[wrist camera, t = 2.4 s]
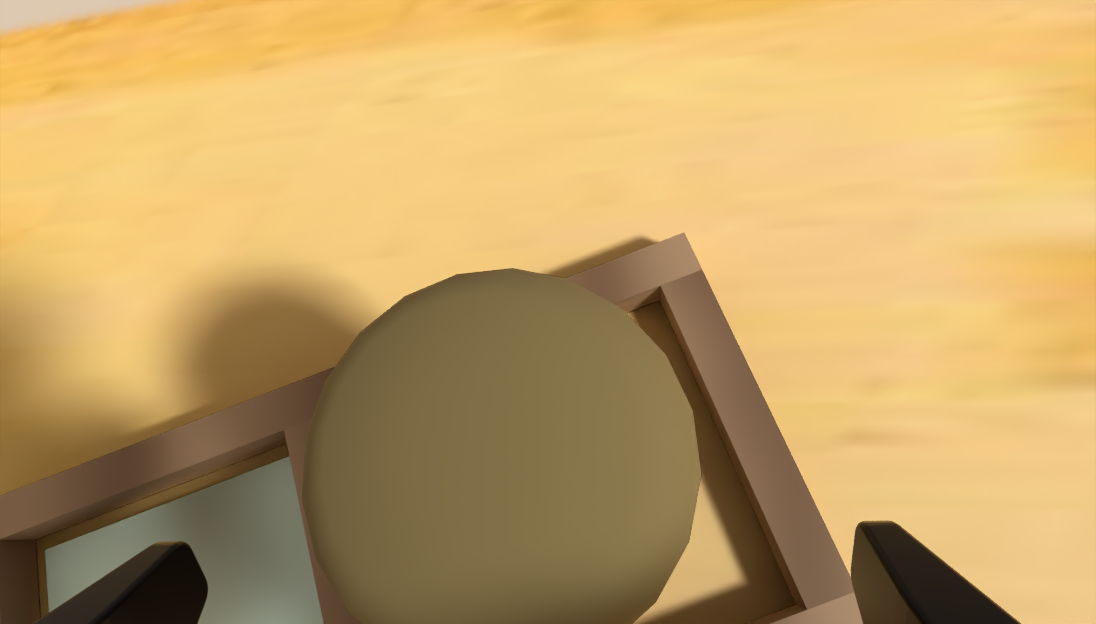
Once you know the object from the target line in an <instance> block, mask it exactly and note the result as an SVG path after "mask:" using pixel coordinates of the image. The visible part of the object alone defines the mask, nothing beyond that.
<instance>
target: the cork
mask: <svg viewBox="0 0 1096 624" xmlns="http://www.w3.org/2000/svg"><path fill="white" fill-rule="evenodd" d="M700 480H701V468H700V461H699V453H698V446H697V438H696V431H695V423H694V416H693V410H692V408H691V406H690V404H689V402H688V399H687V397H686V395H685V393H684V391H683V389H682V387H681V385H680V383H679V381H678V379H677V376H676V374H675V372H674V370H673V368H672V366H671V364H670V362H669V360H668V358H667V356H666V354H665V353H664V352H663V351H662V350H661V349H660V348H659V347H658V346H657V345H656V344H655V343H654V342H653V340H652V339H651V338H650V337H649V336H648V335H647V334H646V333H645V332H644V331H643V330H642V329H641V328H640V327H639V326H638V325H637V324H636V323H635V322H634V321H633V319H632V318H631V317H630V316H629V315H628V314H627V313H626V312H625V311H623V310H622V309H621V308H620V307H618V306H617V305H615V304H613V303H611V302H609V301H608V300H606V299H604V298H602V297H600V296H598V295H597V294H595V293H593V292H591V291H589V290H587V289H585V288H584V287H582V286H580V285H578V284H576V283H574V282H573V281H571V280H569V279H566V278H561V277H556V276H550V275H545V274H540V273H535V272H529V271H524V270H519V269H514V268H510V269H501V270H492V271H483V272H474V273H465V274H457V275H454V276H452V277H450V278H447V279H445V280H443V281H440V282H438V283H435V284H433V285H431V286H428V287H426V288H424V289H421V290H419V291H416V292H414V293H412V294H409V295H407V296H405V297H403V298H402V299H401V300H400V301H398V302H397V303H396V304H395V305H394V306H392V307H391V308H390V309H389V310H387V311H386V312H385V313H384V314H382V315H381V316H380V317H379V318H377V319H376V320H375V321H374V322H372V323H371V324H370V325H369V326H367V327H366V328H365V329H364V330H362V331H361V332H360V333H359V335H358V336H357V337H356V339H355V340H354V342H353V343H352V344H351V346H350V347H349V349H348V350H347V351H346V353H345V354H344V356H343V357H342V358H341V360H340V361H339V363H338V364H337V365H336V367H335V368H334V370H333V371H332V372H331V374H330V375H329V377H328V378H327V379H326V381H325V384H324V387H323V390H322V392H321V395H320V398H319V401H318V404H317V406H316V409H315V412H314V415H313V417H312V420H311V423H310V426H309V429H308V431H307V434H306V437H305V452H304V468H303V484H302V503H303V507H304V511H305V515H306V519H307V523H308V527H309V532H310V536H311V540H312V544H313V548H314V552H315V556H316V560H317V562H318V563H319V565H320V567H321V568H322V570H323V571H324V573H325V575H326V576H327V578H328V580H329V581H330V583H331V584H332V586H333V588H334V589H335V591H336V592H337V594H338V596H339V597H340V599H341V600H342V602H343V604H344V605H345V607H346V609H347V610H348V612H349V613H350V615H352V616H353V617H354V618H355V619H357V620H358V621H359V622H360V623H362V624H632V623H634V622H635V621H636V620H637V619H638V618H639V617H640V616H641V615H642V614H643V613H645V612H646V611H647V610H648V609H649V608H650V607H651V606H652V605H653V604H654V603H655V602H656V601H657V599H658V597H659V595H660V594H661V592H662V590H663V588H664V586H665V585H666V583H667V581H668V579H669V577H670V575H671V574H672V572H673V570H674V568H675V566H676V564H677V563H678V561H679V559H680V557H681V555H682V554H683V552H684V550H685V548H686V546H687V544H688V543H689V540H690V534H691V529H692V523H693V518H694V512H695V507H696V502H697V496H698V491H699V485H700Z"/></svg>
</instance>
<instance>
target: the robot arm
mask: <svg viewBox="0 0 1096 624" xmlns="http://www.w3.org/2000/svg"><path fill="white" fill-rule="evenodd" d="M851 579H852V585H853V589H854V593H855V597H856V600H857V604H858V607H859V611H860V614H861V618H862V622H863V624H1021V623H1020V622H1018V621H1017V620H1016V619H1015V618H1013V617H1012V616H1011V615H1010V614H1009V613H1007V612H1006V611H1005V610H1004V609H1002V608H1001V607H1000V606H999V605H997V604H996V603H995V602H994V601H992V600H991V599H990V598H989V597H987V596H986V595H985V594H984V593H983V592H981V591H980V590H979V589H978V588H976V587H975V586H974V585H973V584H971V583H970V582H969V581H968V580H966V579H965V578H964V577H963V576H961V575H960V574H959V573H958V572H957V571H955V570H954V569H953V568H952V567H950V566H949V565H948V564H947V563H945V562H944V561H943V560H942V559H940V558H939V557H938V556H937V555H935V554H934V553H933V552H932V551H931V550H929V549H928V548H927V547H926V546H924V545H923V544H922V543H921V542H919V541H918V540H917V539H916V538H914V537H913V536H912V535H911V534H909V533H908V532H907V531H906V530H904V529H903V528H902V527H901V526H900V525H898V524H897V523H895V522H892V521H863V522H860V523H859V524H858V525H857V527H856V530H855V538H854V546H853V554H852V563H851ZM207 595H208V583H207V579H206V577H205V575H204V573H203V571H202V569H201V567H200V565H199V563H198V561H197V559H196V556H195V554H194V552H193V550H192V548H191V547H190V545H189V544H187V543H186V542H183V541H167V542H157V543H154V544H152V545H150V546H149V547H147V548H146V549H144V550H143V551H141V552H140V553H138V554H137V555H135V556H134V557H132V558H131V559H129V560H128V561H126V562H125V563H123V564H122V565H120V566H119V567H117V568H116V569H114V570H113V571H111V572H110V573H108V574H107V575H105V576H104V577H102V578H101V579H99V580H98V581H96V582H95V583H93V584H91V585H90V586H88V587H87V588H85V589H84V590H82V591H81V592H79V593H78V594H76V595H75V596H73V597H72V598H70V599H69V600H67V601H66V602H64V603H63V604H61V605H60V606H58V607H57V608H55V609H54V610H52V611H51V612H49V613H48V614H46V615H45V616H43V617H42V618H40V619H39V620H37V621H36V622H34V623H33V624H198V621H199V619H200V616H201V613H202V611H203V608H204V605H205V603H206V600H207Z"/></svg>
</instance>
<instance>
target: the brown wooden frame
mask: <svg viewBox="0 0 1096 624" xmlns="http://www.w3.org/2000/svg"><path fill="white" fill-rule="evenodd" d="M566 279H569V280H571V281H573V282H574V283H576V284H578V285H580V286H582V287H584V288H585V289H587V290H589V291H591V292H593V293H595V294H597V295H598V296H600V297H602V298H604V299H606V300H608V301H609V302H611V303H613V304H615V305H617V306H618V307H620V308H621V309H622V310H623V311H625V312H626V313H628V312H631V311H633V310H636V309H638V308H641V307H644V306H646V305H649V304H651V303H654V302H657V301H659V300H660V302H661V305H662V307H663V309H664V311H665V313H666V316H667V318H668V320H669V322H670V325H671V327H672V329H673V331H674V334H675V336H676V338H677V340H678V342H679V345H680V347H681V349H682V351H683V354H684V356H685V358H686V360H687V363H688V365H689V367H690V369H691V371H692V374H693V376H694V378H695V380H696V383H697V385H698V387H699V389H700V392H701V394H702V396H703V398H704V401H705V403H706V405H707V407H708V409H709V412H710V414H711V416H712V418H713V421H714V423H715V425H716V427H717V430H718V432H719V434H720V436H721V438H722V441H723V443H724V445H725V447H726V450H727V452H728V454H729V456H730V459H731V461H732V463H733V465H734V467H735V470H736V472H737V474H738V476H739V479H740V481H741V483H742V485H743V488H744V490H745V492H746V494H747V496H748V499H749V501H750V503H751V505H752V508H753V510H754V512H755V514H756V517H757V519H758V521H759V523H760V525H761V528H762V530H763V532H764V534H765V537H766V539H767V541H768V543H769V546H770V548H771V550H772V552H773V554H774V557H775V559H776V561H777V563H778V566H779V568H780V570H781V572H782V575H783V577H784V579H785V581H786V584H787V586H788V588H789V590H790V592H791V595H792V597H793V599H794V601H795V604H796V605H794V606H791V607H789V608H786V609H783V610H781V611H778V612H775V613H773V614H770V615H767V616H765V617H762V618H759V619H757V620H754V621H751V622H749V623H746V624H863V622H862V618H861V614H860V611H859V607H858V604H857V600H856V597H855V593H854V589H853V585H852V579H851V577H850V575H849V573H848V571H847V569H846V567H845V565H844V563H843V561H842V558H841V556H840V554H839V552H838V550H837V548H836V546H835V544H834V542H833V540H832V538H831V536H830V534H829V532H828V529H827V527H826V525H825V523H824V521H823V519H822V517H821V515H820V513H819V511H818V509H817V507H816V505H815V503H814V500H813V498H812V496H811V494H810V492H809V490H808V488H807V486H806V484H805V482H804V480H803V478H802V476H801V474H800V471H799V469H798V467H797V465H796V463H795V461H794V459H793V457H792V455H791V453H790V451H789V449H788V447H787V445H786V442H785V440H784V438H783V436H782V434H781V432H780V430H779V428H778V426H777V424H776V422H775V420H774V418H773V416H772V413H771V411H770V409H769V407H768V405H767V403H766V401H765V399H764V397H763V395H762V393H761V391H760V389H759V387H758V384H757V382H756V380H755V378H754V376H753V374H752V372H751V370H750V368H749V366H748V364H747V362H746V360H745V358H744V355H743V353H742V351H741V349H740V347H739V345H738V343H737V341H736V339H735V337H734V335H733V333H732V331H731V329H730V326H729V324H728V322H727V320H726V318H725V316H724V314H723V312H722V310H721V308H720V306H719V304H718V302H717V300H716V297H715V295H714V293H713V291H712V289H711V287H710V285H709V283H708V281H707V279H706V277H705V275H704V273H703V271H702V268H701V266H700V264H699V262H698V260H697V258H696V256H695V254H694V252H693V250H692V248H691V246H690V244H689V242H688V239H687V237H686V235H685V233H681V234H679V235H676V236H674V237H671V238H669V239H666V240H663V241H661V242H658V243H656V244H653V245H650V246H648V247H645V248H643V249H640V250H637V251H635V252H632V253H630V254H627V255H624V256H622V257H619V258H617V259H614V260H611V261H609V262H606V263H604V264H601V265H598V266H596V267H593V268H591V269H588V270H585V271H583V272H580V273H578V274H575V275H572V276H570V277H567V278H566ZM334 368H335V367H333V368H331V369H328V370H326V371H323V372H320V373H318V374H315V375H313V376H310V377H307V378H305V379H302V380H300V381H297V382H294V383H292V384H289V385H287V386H284V387H281V388H279V389H276V390H274V391H271V392H268V393H266V394H263V395H261V396H258V397H255V398H253V399H250V400H248V401H245V402H242V403H240V404H237V405H235V406H232V407H229V408H227V409H224V410H222V411H219V412H216V413H214V414H211V415H209V416H206V417H203V418H201V419H198V420H196V421H193V422H190V423H188V424H185V425H183V426H180V427H177V428H175V429H172V430H170V431H167V432H164V433H162V434H159V435H157V436H154V437H151V438H149V439H146V440H144V441H141V442H138V443H136V444H133V445H131V446H128V447H126V448H123V449H120V450H118V451H115V452H113V453H110V454H107V455H105V456H102V457H100V458H97V459H94V460H92V461H89V462H87V463H84V464H81V465H79V466H76V467H74V468H71V469H68V470H66V471H63V472H61V473H58V474H55V475H53V476H50V477H48V478H45V479H42V480H40V481H37V482H35V483H32V484H29V485H27V486H24V487H22V488H19V489H16V490H14V491H11V492H9V493H6V494H3V495H1V496H0V624H33V623H34V622H36V621H37V620H39V619H40V606H39V590H38V574H37V557H36V541H35V540H36V539H39V538H41V537H44V536H46V535H49V534H52V533H54V532H57V531H59V530H62V529H65V528H67V527H70V526H72V525H75V524H78V523H80V522H83V521H86V520H88V519H91V518H93V517H96V516H99V515H101V514H104V513H106V512H109V511H112V510H114V509H117V508H119V507H122V506H125V505H127V504H130V503H132V502H135V501H138V500H140V499H143V498H145V497H148V496H151V495H153V494H156V493H159V492H161V491H164V490H166V489H169V488H172V487H174V486H177V485H179V484H182V483H185V482H187V481H190V480H192V479H195V478H198V477H200V476H203V475H205V474H208V473H211V472H213V471H216V470H219V469H221V468H224V467H226V466H229V465H232V464H234V463H237V462H239V461H242V460H245V459H247V458H250V457H252V456H255V455H258V454H260V453H263V452H265V451H268V450H271V449H273V448H276V447H278V446H281V445H284V444H286V443H287V447H288V452H289V456H288V457H286V458H283V459H281V460H278V461H275V462H273V463H270V464H267V465H265V466H262V467H260V468H257V469H254V470H252V471H249V472H247V473H244V474H241V475H239V476H236V477H234V478H231V479H228V480H226V481H223V482H220V483H218V484H215V485H213V486H210V487H207V488H205V489H202V490H200V491H197V492H194V493H192V494H189V495H187V496H184V497H181V498H179V499H176V500H174V501H171V502H168V503H166V504H163V505H160V506H158V507H155V508H153V509H150V510H147V511H145V512H142V513H140V514H137V515H134V516H132V517H129V518H127V519H124V520H121V521H119V522H116V523H113V524H111V525H108V526H106V527H103V528H100V529H98V530H95V531H93V532H90V533H87V534H85V535H82V536H80V537H77V538H74V539H72V540H69V541H67V542H64V543H61V544H59V545H56V546H53V547H51V548H48V549H46V550H45V561H46V576H47V591H48V606H49V612H51V611H52V610H54V609H55V608H57V607H58V606H60V605H61V604H63V603H64V602H66V601H67V600H69V599H70V598H72V597H73V596H75V595H76V594H78V593H79V592H81V591H82V590H84V589H85V588H87V587H88V586H90V585H91V584H93V583H95V582H96V581H98V580H99V579H101V578H102V577H104V576H105V575H107V574H108V573H110V572H111V571H113V570H114V569H116V568H117V567H119V566H120V565H122V564H123V563H125V562H126V561H128V560H129V559H131V558H132V557H134V556H135V555H137V554H138V553H140V552H141V551H143V550H144V549H146V548H147V547H149V546H150V545H152V544H154V543H157V542H167V541H183V542H186V543H187V544H189V545H190V547H191V548H192V550H193V552H194V554H195V556H196V559H197V561H198V563H199V565H200V567H201V569H202V571H203V573H204V575H205V577H206V579H207V583H208V595H207V600H206V603H205V605H204V608H203V611H202V613H201V616H200V619H199V621H198V624H362V623H360V622H359V621H358V620H357V619H355V618H354V617H353V616H352V615H350V613H349V612H348V610H347V609H346V607H345V605H344V604H343V602H342V600H341V599H340V597H339V596H338V594H337V592H336V591H335V589H334V588H333V586H332V584H331V583H330V581H329V580H328V578H327V576H326V575H325V573H324V571H323V570H322V568H321V567H320V565H319V563H318V562H317V560H316V556H315V552H314V548H313V544H312V540H311V536H310V532H309V527H308V523H307V519H306V515H305V511H304V507H303V503H302V484H303V468H304V452H305V437H306V434H307V431H308V429H309V426H310V423H311V420H312V417H313V415H314V412H315V409H316V406H317V404H318V401H319V398H320V395H321V392H322V390H323V387H324V384H325V381H326V379H327V378H328V377H329V375H330V374H331V372H332V371H333V370H334Z"/></svg>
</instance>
